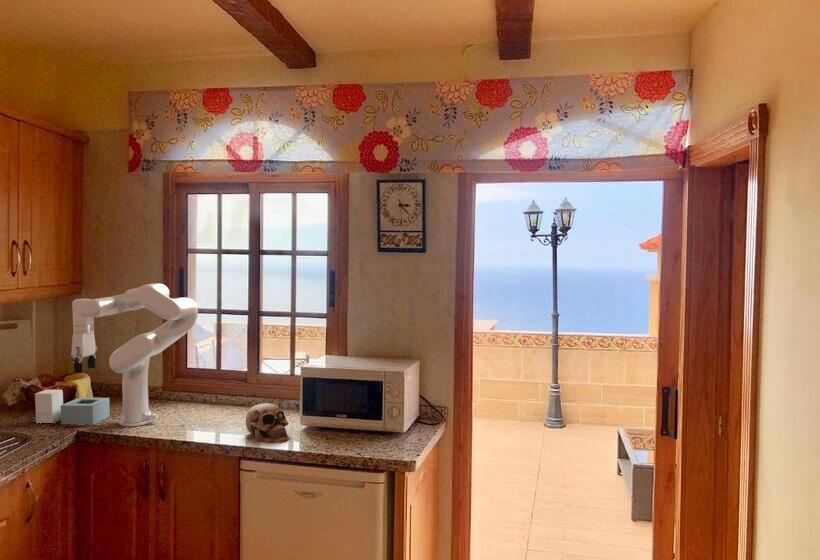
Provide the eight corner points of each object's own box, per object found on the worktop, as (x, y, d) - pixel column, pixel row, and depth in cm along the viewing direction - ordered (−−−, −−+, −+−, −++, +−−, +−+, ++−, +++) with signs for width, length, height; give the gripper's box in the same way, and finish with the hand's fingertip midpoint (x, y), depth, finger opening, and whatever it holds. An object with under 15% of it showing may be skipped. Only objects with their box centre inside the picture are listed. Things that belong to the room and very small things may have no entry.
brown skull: (285, 442, 226) (281, 406, 226) (239, 447, 227) (235, 410, 227) (296, 431, 241) (292, 397, 241) (253, 435, 242) (249, 401, 242)
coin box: (109, 416, 262) (109, 397, 261) (92, 425, 249) (92, 405, 248) (79, 416, 262) (79, 397, 262) (61, 425, 249) (60, 405, 249)
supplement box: (64, 419, 257) (63, 389, 257) (52, 424, 250) (51, 393, 249) (47, 419, 258) (46, 389, 257) (35, 424, 251) (34, 393, 250)
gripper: (86, 326, 262) (88, 366, 263) (62, 331, 245) (63, 374, 246) (103, 326, 262) (105, 366, 263) (80, 331, 245) (82, 374, 245)
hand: (85, 370), depth 254 cm, fingers open, 9 cm apart
